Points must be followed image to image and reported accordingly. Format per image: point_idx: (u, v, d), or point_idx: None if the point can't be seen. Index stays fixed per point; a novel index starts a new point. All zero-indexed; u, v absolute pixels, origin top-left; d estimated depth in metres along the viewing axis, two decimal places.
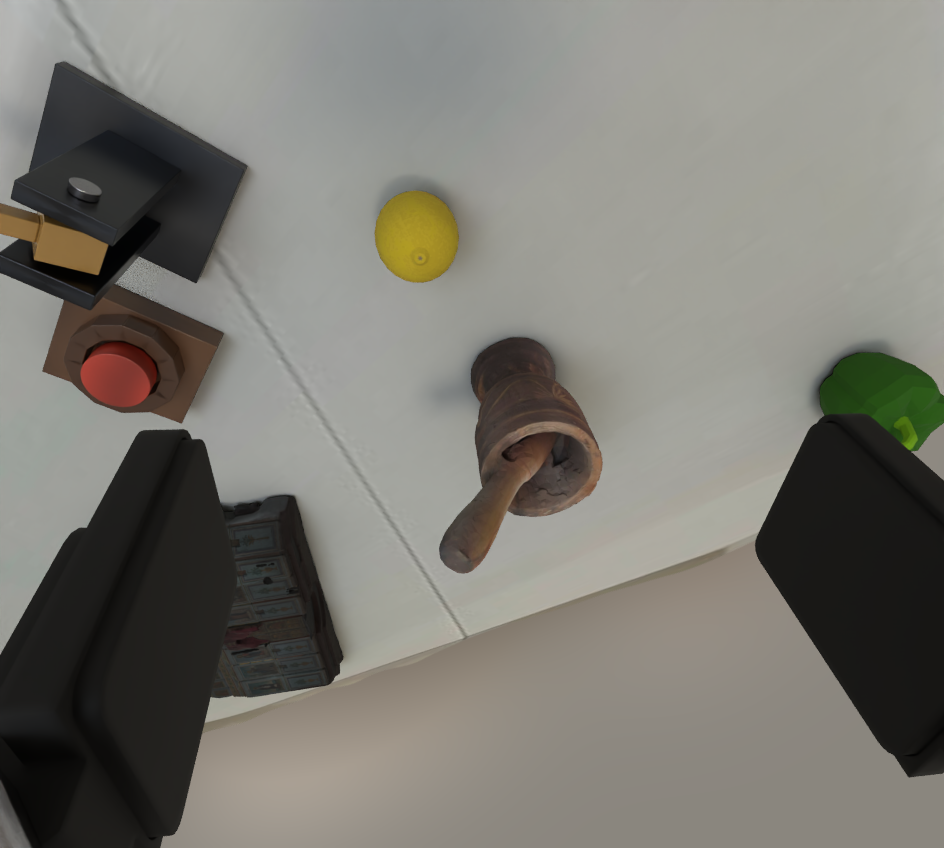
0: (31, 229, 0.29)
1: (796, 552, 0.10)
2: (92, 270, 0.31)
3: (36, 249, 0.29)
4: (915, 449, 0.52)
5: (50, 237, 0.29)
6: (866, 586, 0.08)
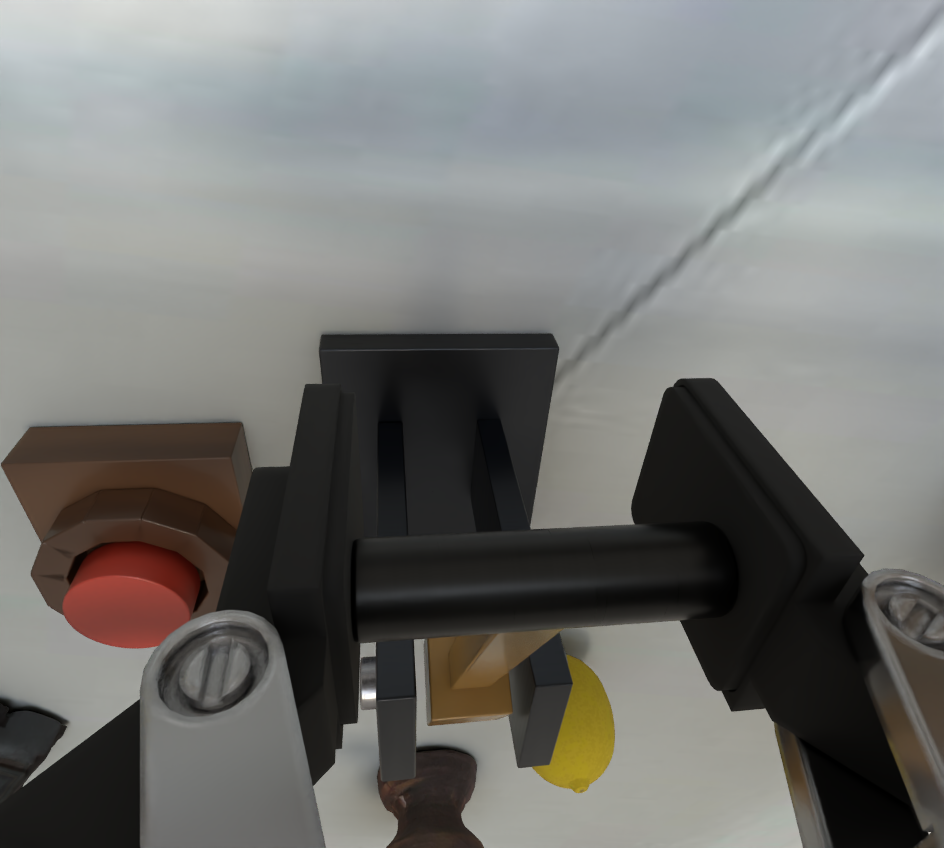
0: (476, 687, 0.16)
1: (657, 510, 0.10)
2: (435, 724, 0.18)
3: (452, 715, 0.16)
4: None
5: (484, 717, 0.16)
6: None
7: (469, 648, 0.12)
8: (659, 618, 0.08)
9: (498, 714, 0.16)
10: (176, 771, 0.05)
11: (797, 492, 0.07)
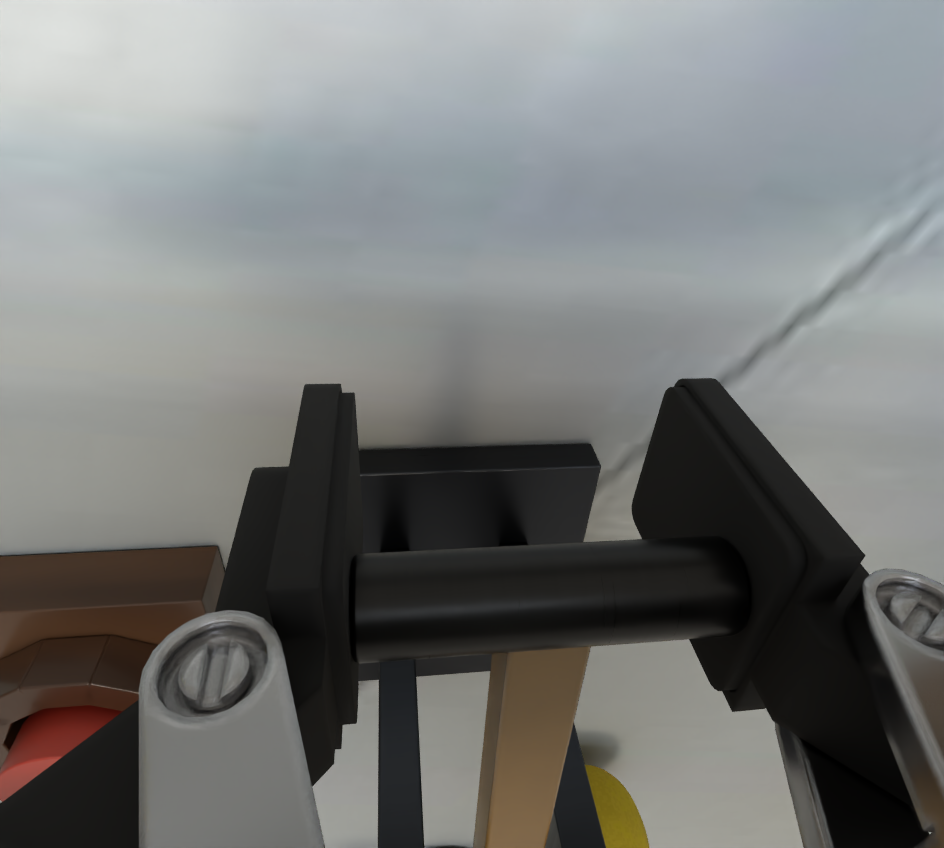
0: None
1: (657, 510, 0.10)
2: None
3: None
4: None
5: None
6: None
7: (487, 792, 0.10)
8: (675, 622, 0.07)
9: None
10: (175, 772, 0.05)
11: (798, 492, 0.07)
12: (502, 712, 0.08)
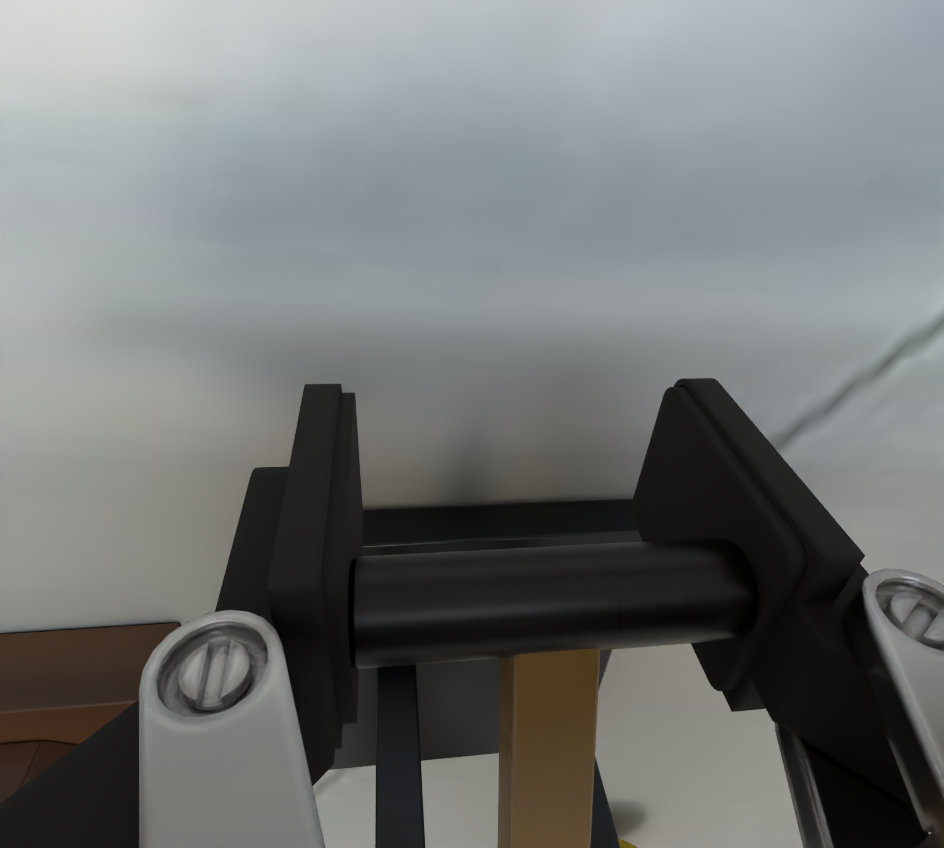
0: None
1: (657, 510, 0.10)
2: None
3: None
4: None
5: None
6: (700, 536, 0.09)
7: None
8: (682, 608, 0.07)
9: None
10: (175, 772, 0.05)
11: (797, 492, 0.07)
12: (513, 747, 0.08)
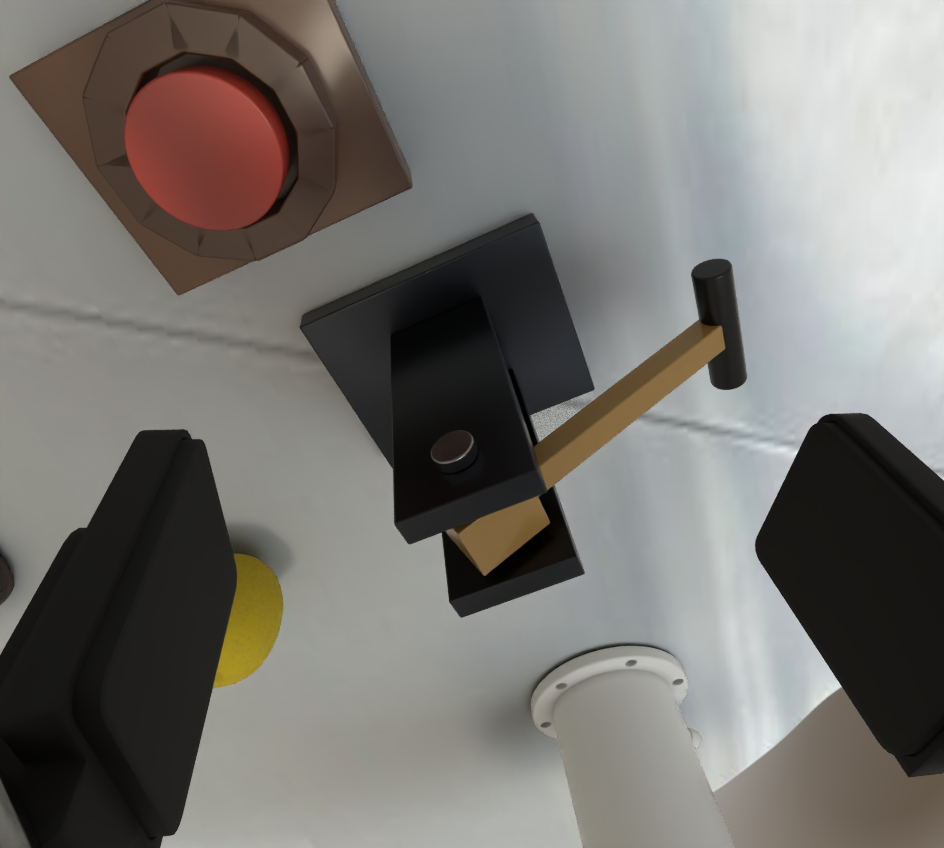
0: None
1: (796, 552, 0.10)
2: (469, 532, 0.18)
3: None
4: None
5: (535, 516, 0.19)
6: (866, 586, 0.08)
7: (636, 384, 0.21)
8: (742, 362, 0.22)
9: (545, 516, 0.19)
10: None
11: None
12: (694, 345, 0.21)
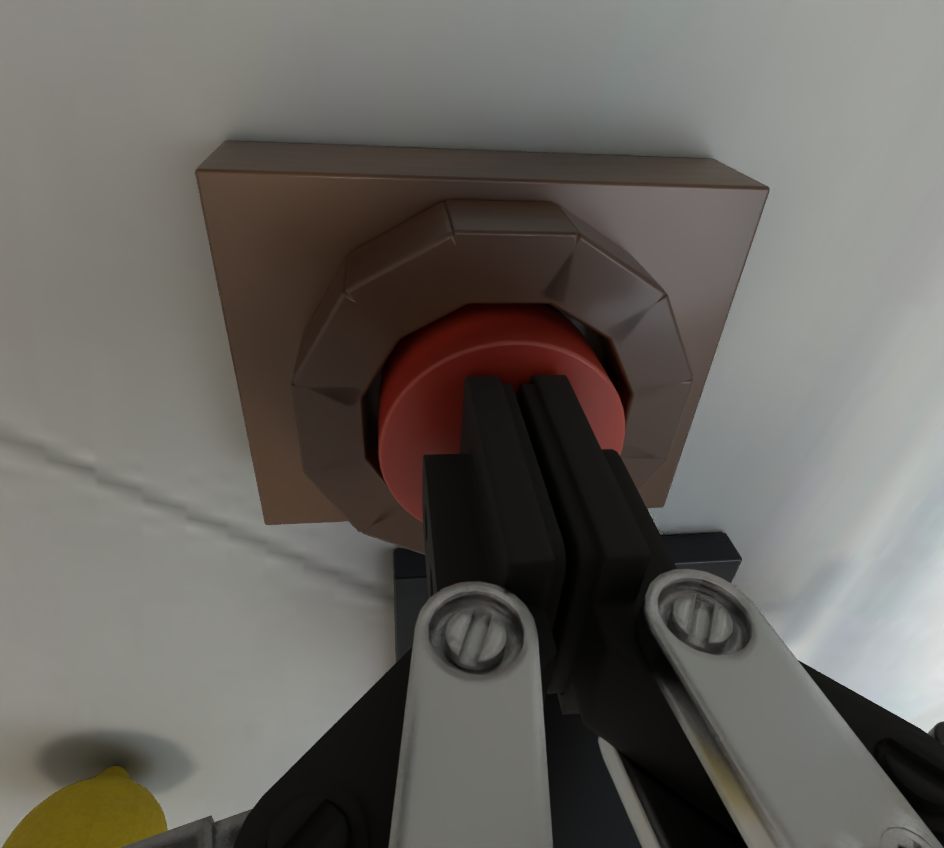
0: None
1: None
2: None
3: None
4: None
5: None
6: None
7: None
8: None
9: None
10: (434, 711, 0.05)
11: (605, 490, 0.07)
12: None
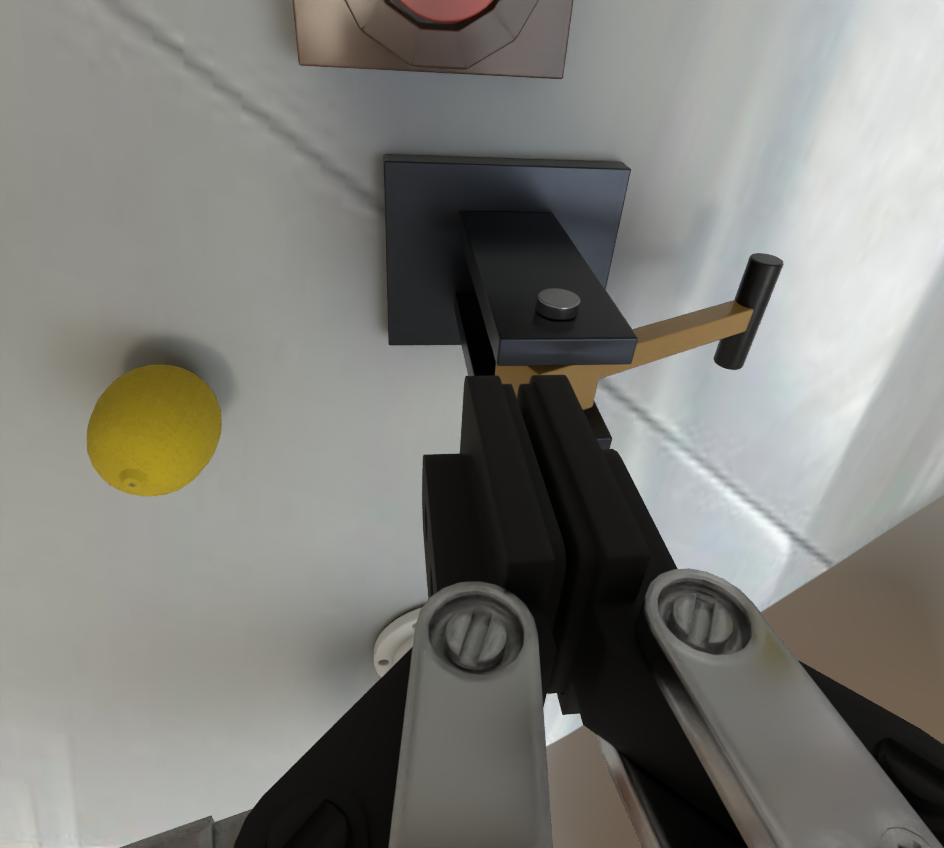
0: None
1: None
2: None
3: None
4: None
5: (588, 393, 0.21)
6: None
7: (685, 325, 0.24)
8: (748, 349, 0.27)
9: (593, 398, 0.21)
10: (434, 711, 0.05)
11: (605, 490, 0.07)
12: (732, 315, 0.25)
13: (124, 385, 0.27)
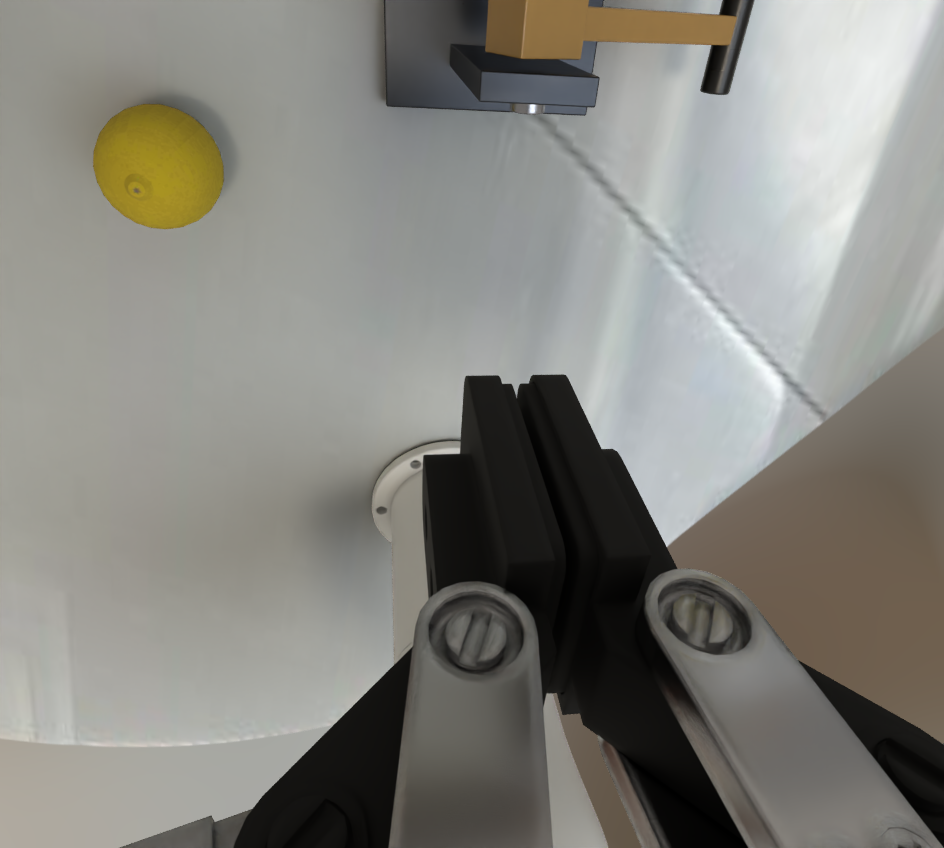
0: None
1: None
2: None
3: (586, 7, 0.22)
4: None
5: (576, 36, 0.22)
6: None
7: (670, 11, 0.25)
8: (733, 70, 0.28)
9: (581, 47, 0.22)
10: (434, 711, 0.05)
11: (605, 490, 0.07)
12: (716, 15, 0.26)
13: (130, 108, 0.28)
